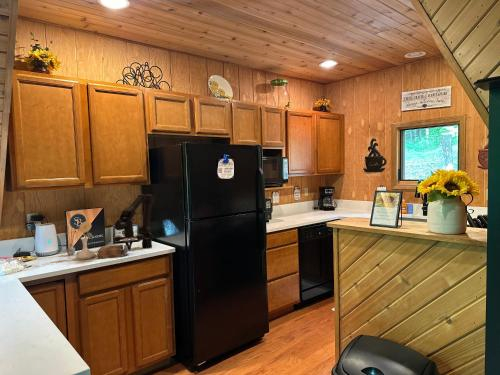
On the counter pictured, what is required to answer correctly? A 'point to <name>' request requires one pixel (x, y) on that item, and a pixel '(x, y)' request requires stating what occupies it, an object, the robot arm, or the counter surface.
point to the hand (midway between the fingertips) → (129, 250)
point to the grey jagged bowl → (124, 251)
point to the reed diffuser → (71, 249)
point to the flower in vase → (85, 242)
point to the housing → (110, 251)
